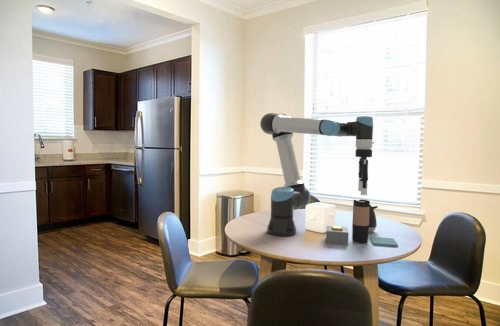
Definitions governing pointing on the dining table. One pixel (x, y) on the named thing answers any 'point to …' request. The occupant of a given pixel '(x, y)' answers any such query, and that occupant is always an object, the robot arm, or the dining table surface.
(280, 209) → the robot arm
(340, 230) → the plunger
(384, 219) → the dining table surface
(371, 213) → the pump dispenser
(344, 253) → the dining table surface
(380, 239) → the mat
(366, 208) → the travel mug
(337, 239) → the block
